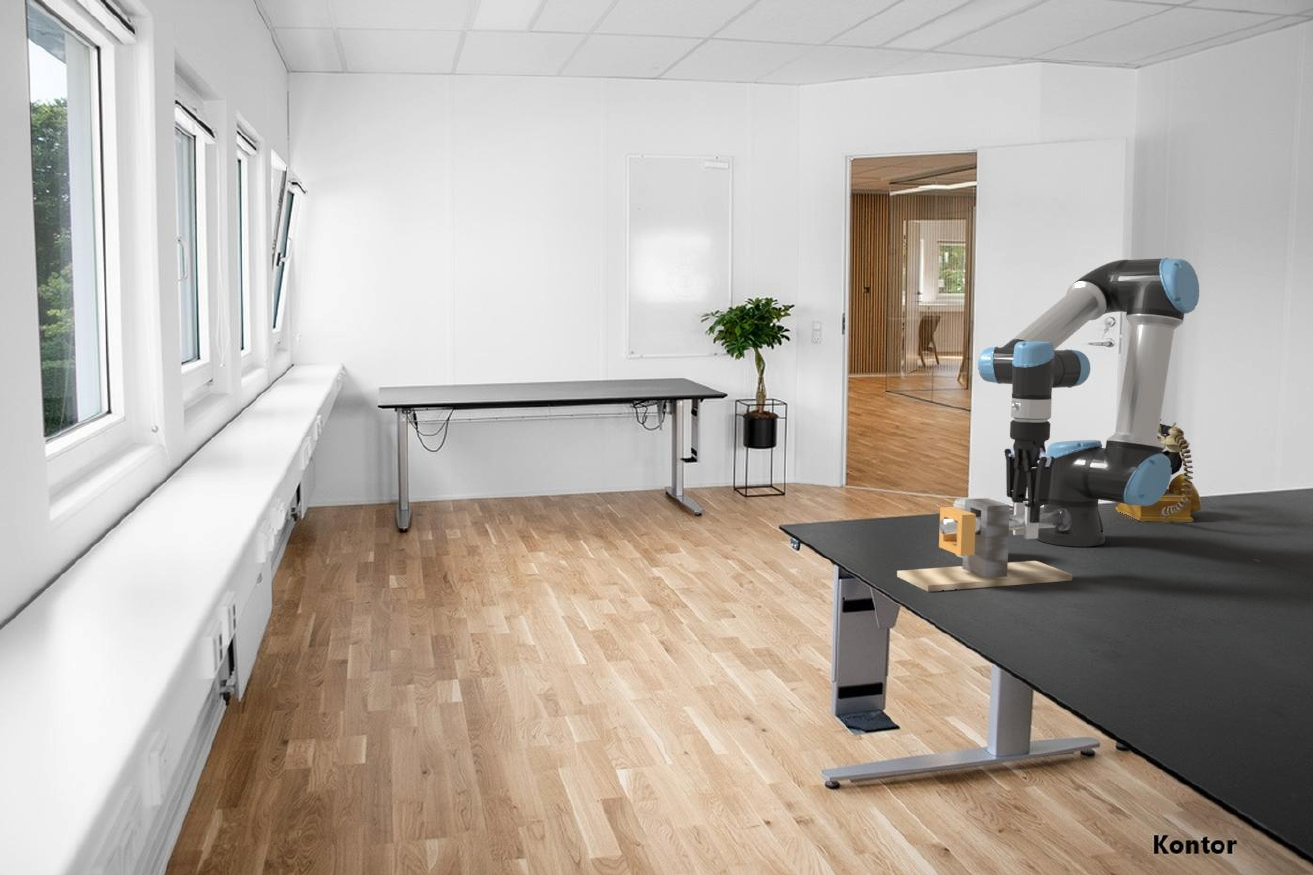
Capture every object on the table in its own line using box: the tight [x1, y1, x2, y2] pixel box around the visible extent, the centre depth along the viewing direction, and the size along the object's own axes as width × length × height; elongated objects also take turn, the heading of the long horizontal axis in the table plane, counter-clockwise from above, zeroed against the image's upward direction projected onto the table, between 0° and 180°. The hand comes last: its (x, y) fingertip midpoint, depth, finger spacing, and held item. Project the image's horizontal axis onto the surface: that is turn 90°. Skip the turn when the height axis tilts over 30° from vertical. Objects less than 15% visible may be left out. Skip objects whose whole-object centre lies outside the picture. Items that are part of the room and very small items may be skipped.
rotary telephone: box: [1115, 418, 1203, 522], centre depth 279 cm, size 35×18×25 cm, turn 178°
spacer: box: [938, 506, 976, 556], centre depth 218 cm, size 3×8×8 cm, turn 16°
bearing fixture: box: [896, 497, 1073, 593], centre depth 220 cm, size 32×12×15 cm, turn 106°
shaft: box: [939, 508, 1072, 534], centre depth 221 cm, size 28×4×4 cm, turn 106°
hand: (1025, 536), depth 222 cm, fingers closed on shaft, 3 cm apart
